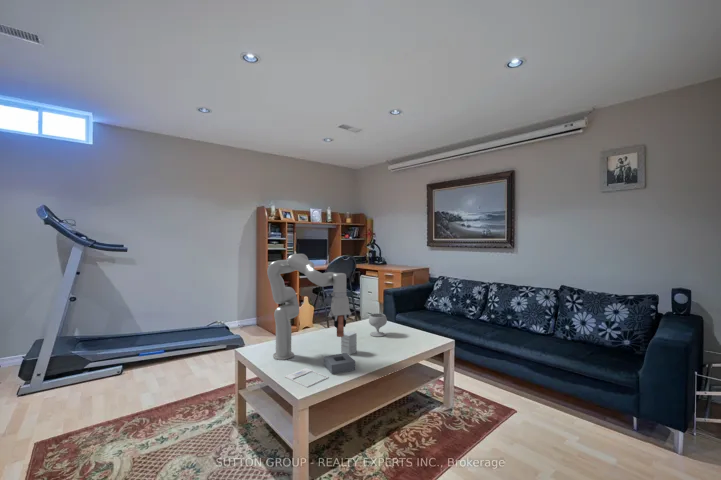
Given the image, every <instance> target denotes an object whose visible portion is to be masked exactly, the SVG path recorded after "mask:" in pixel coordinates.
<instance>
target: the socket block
mask: <svg viewBox="0 0 721 480" xmlns="http://www.w3.org/2000/svg"><path fill="white" fill-rule="evenodd" d="M323 365H324V367H325V368H326V369H327V370H328V372H329V373H330V374H331V375H335V374H341V373H347V372H353V371H356V360H355V359H354V358H353V357H352V356H351V355H348V354H347V353H337V354H336V353H335V354H330V355H324V356H323Z"/></svg>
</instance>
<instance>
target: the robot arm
mask: <svg viewBox="0 0 721 480" xmlns="http://www.w3.org/2000/svg"><path fill="white" fill-rule="evenodd" d="M295 271H298V272H299V273H301V274H304V275H305V277H306V278H307V280H308V281H310V282H311V283H312V284H314V285H317V286H319V287H322V288H323V287H328V286H333V287H332V292H331V294H330V296H331V303H330V305H331V306H330V311H329V312H328V317H329V318H331V319H332V320H333V325H334V328H336V329H337V328H338V321H337V316H341V315H344V328H346V326H347V319H348V318H349V317H350V316H351V315H352V312H351V310H350V302H349V301H350V300H349V297H348V296H347V274H346V273H344V272H332V271H327V272H323V273H322V272H320V271H318V270H316V269H315V263H314V262H313V261H310V260H309V258H308V256H307V255H306V254H305V253H293V254H291V255H288V257H287V259H278V260H274V261H272V262H270V264H269V265H268V267H267V271H266V272H267V273H266V274H267V278H268V280H269V284H270V289H271V294H272V299H273V301H274V303H275V304H277V305H279V306H277V307H276V309H275V310H274V313H273V316H274V321H275V322H274V323H275V353H273V355H272V358H273V359H274V360H280V361H282V360H283V361H285V360H288V359H292V358H293V357H294V356H295V353H294V352H293V351H292V324H291V322H290V320H291V319H294V318H296V317H298V316H299V314H300V305H299V301H298V297H297V292H296V291H295V289H294V288H293V287H292V286H286V285H285V281H284V279H283V277H282V275H281V274H289V273H292V272H295ZM281 304H284V305H281Z"/></svg>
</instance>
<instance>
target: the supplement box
mask: <svg viewBox="0 0 721 480" xmlns="http://www.w3.org/2000/svg"><path fill="white" fill-rule="evenodd" d="M357 336H358V335H357V332H353V331H349V330H348V331H344V336H343V337H340V340H341V342H340V346H341V348H340V349H341V350H340V351H341V352H340V354H342V353H347V354H348V355H349V356H351V355H353V354H355V353H357V345H358V344H357V342H358V341H357Z"/></svg>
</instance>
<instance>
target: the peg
mask: <svg viewBox="0 0 721 480" xmlns="http://www.w3.org/2000/svg"><path fill="white" fill-rule="evenodd" d="M337 321H338V328H336V337H338V338H341V337H343V336H344V332H345V330H344V329H345V327H344V315H341V316H337Z"/></svg>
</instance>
